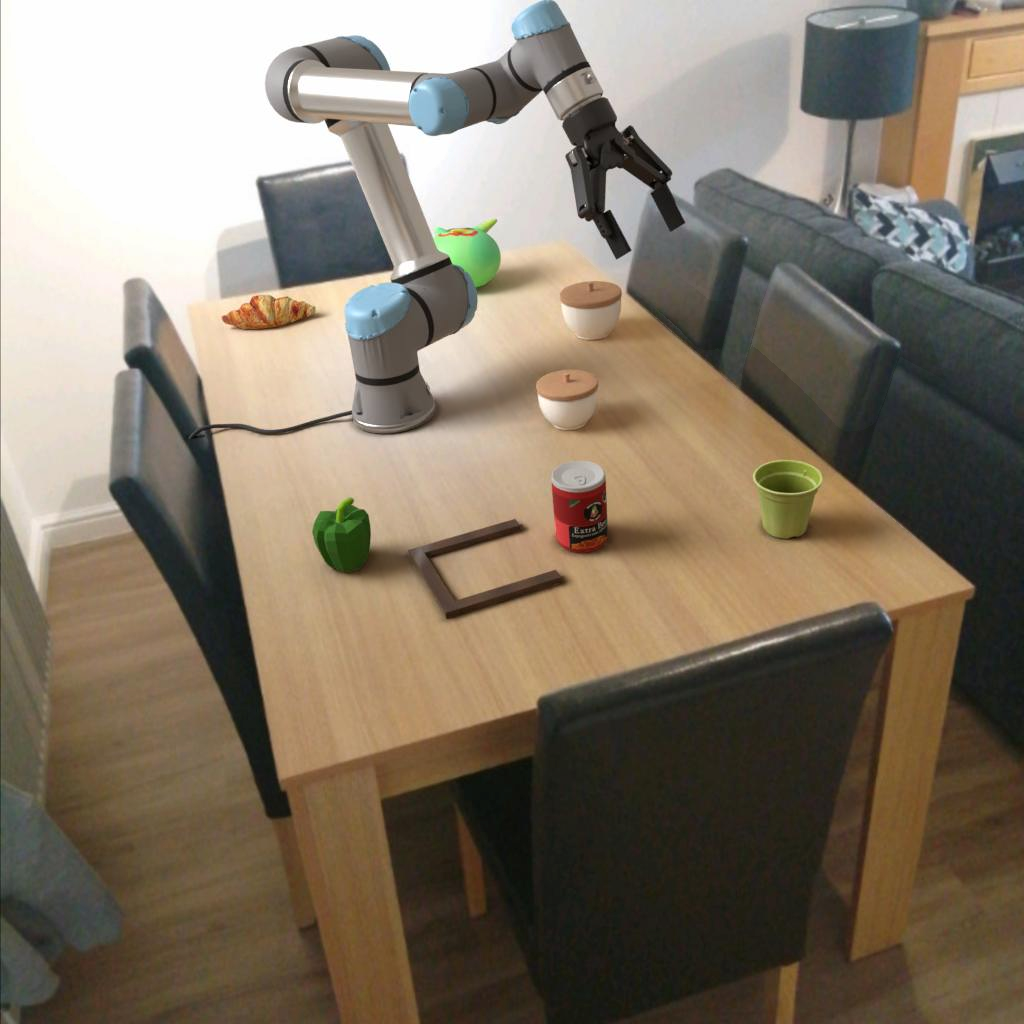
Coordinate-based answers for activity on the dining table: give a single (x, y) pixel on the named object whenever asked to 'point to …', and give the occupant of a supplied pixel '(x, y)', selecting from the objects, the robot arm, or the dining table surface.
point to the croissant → (268, 312)
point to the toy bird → (471, 250)
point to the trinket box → (568, 398)
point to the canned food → (580, 506)
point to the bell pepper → (343, 536)
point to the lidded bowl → (591, 308)
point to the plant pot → (786, 496)
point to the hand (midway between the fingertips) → (651, 241)
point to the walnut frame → (480, 599)
